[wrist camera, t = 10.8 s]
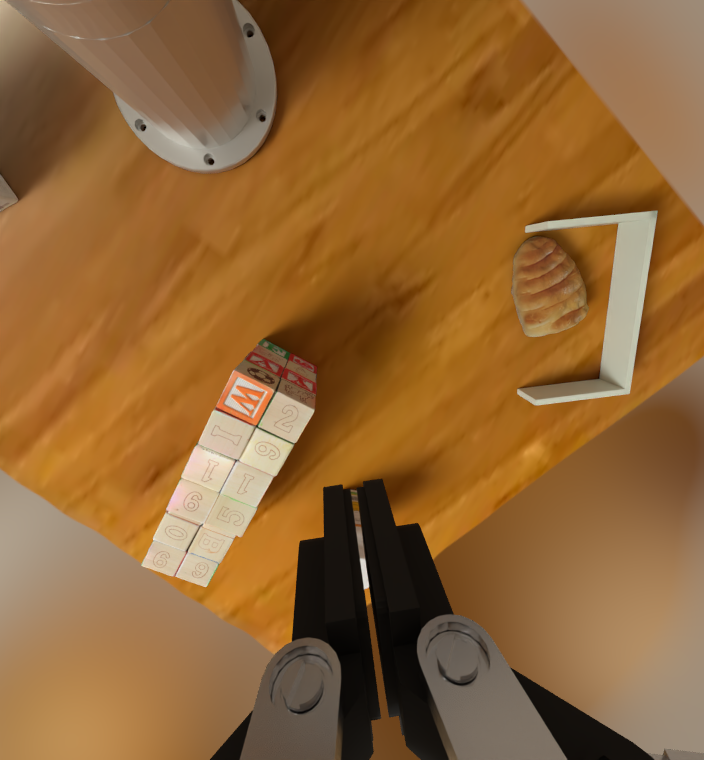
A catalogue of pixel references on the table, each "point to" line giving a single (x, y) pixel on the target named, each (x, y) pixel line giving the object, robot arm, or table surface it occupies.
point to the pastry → (547, 288)
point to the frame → (610, 309)
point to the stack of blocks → (234, 462)
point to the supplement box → (6, 195)
